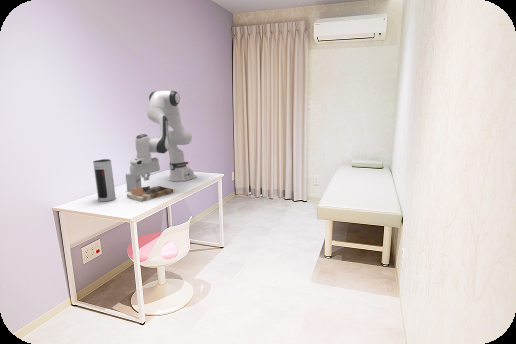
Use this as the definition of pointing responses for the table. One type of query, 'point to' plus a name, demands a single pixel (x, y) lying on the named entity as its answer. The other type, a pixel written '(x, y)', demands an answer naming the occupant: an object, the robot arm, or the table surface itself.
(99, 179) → the speaker
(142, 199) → the wooden tray
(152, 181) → the table surface
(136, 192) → the terracotta block
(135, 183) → the supplement box
